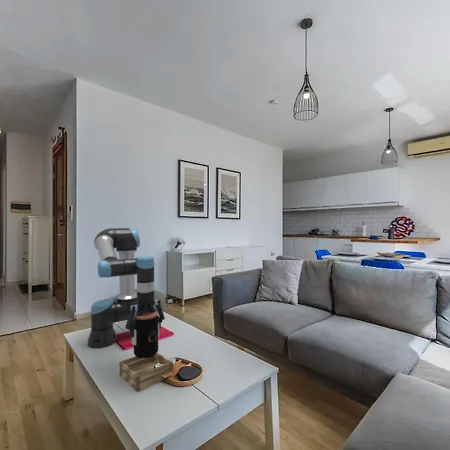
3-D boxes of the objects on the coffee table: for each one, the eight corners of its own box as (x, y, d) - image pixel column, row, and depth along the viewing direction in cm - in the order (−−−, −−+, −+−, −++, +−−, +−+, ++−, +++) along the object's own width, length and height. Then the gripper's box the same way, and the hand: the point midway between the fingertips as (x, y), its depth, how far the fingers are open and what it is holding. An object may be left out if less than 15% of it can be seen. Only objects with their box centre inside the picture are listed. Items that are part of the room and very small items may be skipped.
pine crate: (119, 375, 125) (119, 361, 125) (153, 361, 137) (153, 349, 136) (137, 391, 113) (137, 377, 112) (172, 375, 125) (172, 362, 124)
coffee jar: (151, 360, 118) (151, 318, 118) (128, 357, 120) (128, 316, 120) (162, 348, 128) (162, 310, 128) (141, 346, 131) (140, 308, 130)
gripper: (124, 297, 113) (124, 351, 113) (172, 287, 129) (172, 334, 130) (116, 294, 118) (116, 345, 119) (163, 285, 135) (163, 330, 135)
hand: (146, 340), depth 124 cm, fingers closed on coffee jar, 11 cm apart
